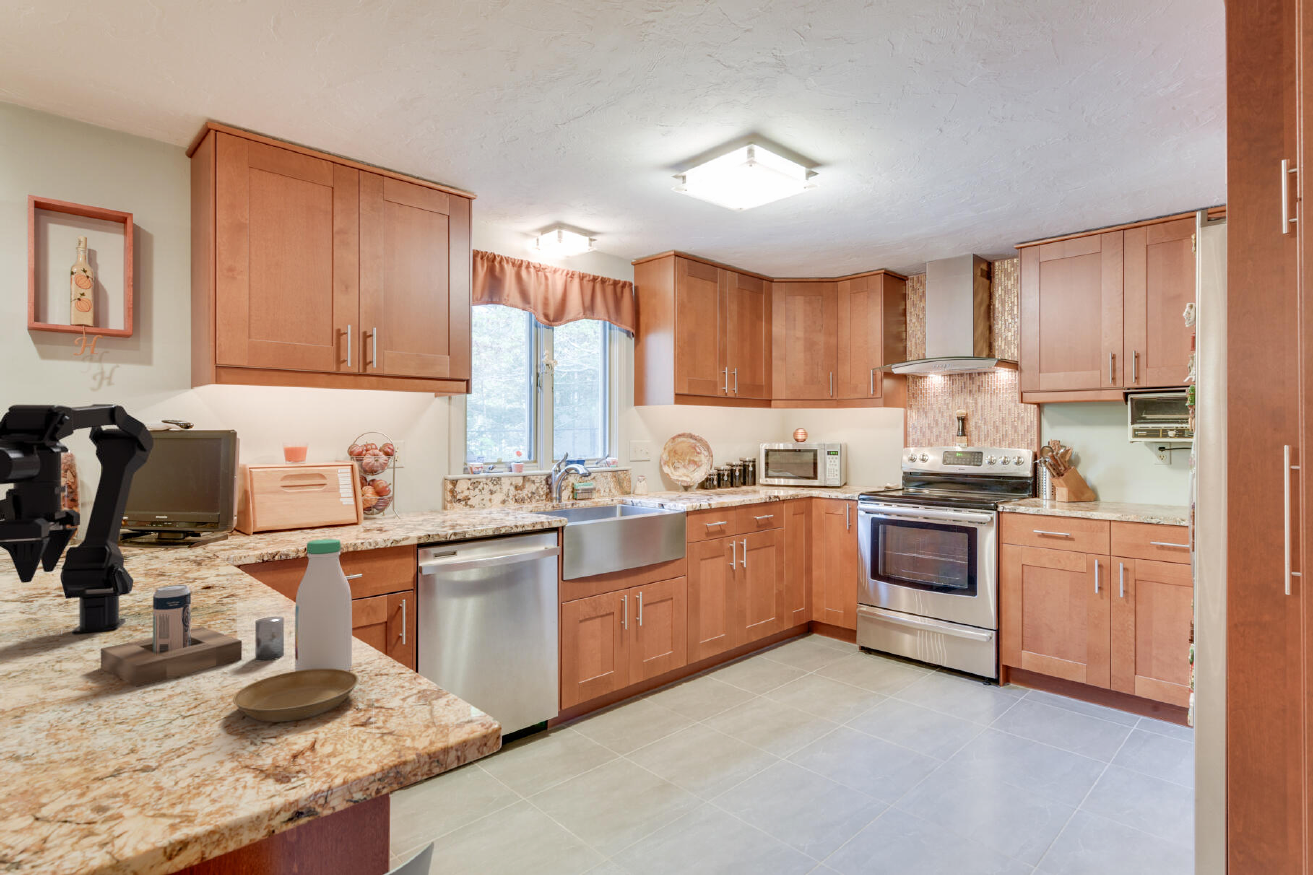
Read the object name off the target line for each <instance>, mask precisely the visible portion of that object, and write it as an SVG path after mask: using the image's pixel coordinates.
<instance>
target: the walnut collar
mask: <svg viewBox="0 0 1313 875" xmlns="http://www.w3.org/2000/svg"><path fill="white" fill-rule="evenodd" d="M242 645H243V642H242V640H241V639H238V638H235V637H232V636H229V635H227V634H224V633H221V632H219V631H215V630H212V629H209V628H206V627H205V626H200V627H196V628H191V646H189V647H185V648H180V649H176V650H172V651H167V652H163V653H159V654H155V653H153V637H149V638H144V639H139V640H135V641H130V642H125V643H120V644H117V645H116V644H115V645H112V646H105V647H101V648H100V668H101V669H102V670H104V671H106V672H108V673H109V674H111V675H113V676H115V677H118V678H120V679H121V680H122V681H125V682H126V683H129V684H131V685H132V686H134V687H140V686H144V685H148V684H152V683H155V682H159V681H163V680H168V679H171V678H175V676H176V677H179V676H183V675H187V674H191V673H195V672H198V671H202V670H206V669H210V668H214V667H218V666H220V665H225V664H229V663H233V662H236V661H240V660H243V656H242V655H243V654H242V653H243V652H242V651H243V650H242V647H243V646H242ZM213 666H214V667H213ZM194 671H195V672H194Z"/></svg>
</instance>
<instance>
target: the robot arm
mask: <svg viewBox="0 0 1313 875" xmlns="http://www.w3.org/2000/svg"><path fill="white" fill-rule="evenodd" d="M7 410H8V411H6V413H4V415H2V418H1V419H0V485H9V484H11V485H13V488H8V489H7V490H6V491H5V498H2V499H0V548H2V549H4V550H5V551H7V552H8V554H9V556H10V559H11V560H12V563H13V565H14V568H15V570H16V573H17V575H18V578H19V580H20V582H21V583H22V584H24V583H26V584H27V583H31V582H32V581H33V578H34V576H35V574H36V572H37V569H38V566H39V565H40V563H41V564H42V570H43V572H44V573H52V572H53V571H54V570H55V568H56V566H57V564H58V562H59V561H60V559H61V557H62V555H63V553H64V551H65V550H66V548H67V546H68V544H69V543H70V541H71V540H72V539H71V538H72V537H73V535H74V534H75V532H77V529H78V527H77V526H79V525H80V526H81V514H80V513H79V512H78V511H76V510H75V509H71V508H70V509H62V493H66V491H67V490H66V488H67V487H66V485H62V454H63V453H64V454H65V453H68V452H69V448H68V447H67V446H66V445H64V444H62V443H61V442H60V441H61V440H62V439H65V438H67V437H70V436H72V435H73V434H74V432H75V431H76V430H82V429H87V428H88V429H90V432H89V436H88V439H89V440H90V441H91V442H92V444H93V445H94V446H95V448H96V449H95V456H96V458H97V460H98V461H99V463H100V465H101V467H102V468H101V474H100V477H99V481H98V485H97V489H96V493H95V496H94V501H93V505H92V508H91V512H90V516H89V519H88V524H87V529H86V532H85V536H84V539H83V540H82V542H81V543H80V544H78V545H77V546H70V547H69V548H68V549H67V551H66V552H65V559H64V563H63V565H62V567H61V572H60V582H61V586H62V589H63V590H62V591H63V593H64V598H65V599H68V600H70V599H78V598H79V602H78V603H79V605H78V606H79V613H78V614H79V615H78V616H79V617H78V618H79V620H78V621H79V622H78V624H79V625H78V626H77V627H75V628H74V629H73V630H72V631H71V633H72V634H84V633H91V632H103V631H111V630H112V631H113V630H118V628H120V627H121V625H123V624H124V623H125V622H126V618H120V596H123V595H129V594H131V592H132V590H133V585H134V579H133V578H132V576H131V575H130V573H129V571H127V569H126V568H125V566H124V564H125V557H124V554H123V553H122V551H121V549H120V547H119V546H118V541H119V537H120V532H121V529H122V524H123V521H124V520H123V519H124V516H125V512H126V509H127V508H126V506H127V503H128V499H129V496H130V495H129V494H130V491H131V488H132V482H133V477H134V475H135V473H136V472H137V471H138V470H140V469H141V467H143V466H144V465H145V464H146V463H147V462H148V458H149V455H150V453H151V451H152V450H153V447H154V438H153V436H152V434H151V433H150V431H149V430H148V428H147V427H146V424H145V423H144V422H142V421H140V420H138V419H137V418H135V417H134V416H132V415H130V414H128V412H127V411H126V409H125V408H124V407H123V406H122V405H119V404H116V403H114V404H112V403H111V404H109V403H108V404H107V403H105V404H104V403H99V404H98V403H97V404H96V403H94V404H92V405H87V406H86V405H85V406H84V405H83V406H72V407H71V406H66V405H60V404H13V405H11V406H9V407H8V408H7ZM104 426H105V427H106V426H116V428H105V429H104V428H102V427H104ZM67 526H70V527H67Z"/></svg>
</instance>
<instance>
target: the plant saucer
mask: <svg viewBox="0 0 1313 875" xmlns="http://www.w3.org/2000/svg"><path fill="white" fill-rule="evenodd" d="M359 679H360V678H359V676H358V674H356V673H355V672H352V671H347V670H341V669H309V670H300V671H295V670H294V671H288V672H285V673H281V674H275V675H273V676H269V677H266V678H262V679H260V680H257V681H254V682H252V683H250V684H248V685H246V686H244V687H242V688H240V689H239V690H238V691H237V692H236V693H235V694H234V695H233V697H232V702H233V704H234V705H235V706H236V707H238V709H239V710H241V711H242V712H244V713H245V715H247V716H249V717H250V718H253V719H255V720H258V721H262V722H269V723H270V722H271V723H273V722H274V723H281V722H291V721H298V720H303V719H308V718H312V717H315V716H318V715H319V716H320V715H321V714H324V713H326V712H329V711H331V710H333V709H335V708H337V706H339V705H340V704H342V703H343V701H345V700H346V698H347V697H348V696H349V695H350V694H351V693H352V692H353V690H354V689H355V688H356V686H357V685H358V683H359Z"/></svg>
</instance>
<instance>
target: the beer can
mask: <svg viewBox="0 0 1313 875" xmlns="http://www.w3.org/2000/svg"><path fill="white" fill-rule="evenodd" d="M191 594H192V592H191V590H190V588H189V587H188V585H186V584H172V585H166V586H161V587H158V588H156V590H155V592H154V593H153V596H152V638H153V653H155V654H159V653H163V652H167V651H172V650H176V649H180V648H185V647H189V646H191V629H192V628H191V626H192V624H191V623H192V622H191V621H192V618H191V617H192V616H191V614H192V613H191V610H192V607H191V606H192V604H191V603H192V602H191V601H192V600H191V599H192V597H191V596H192V595H191Z"/></svg>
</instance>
